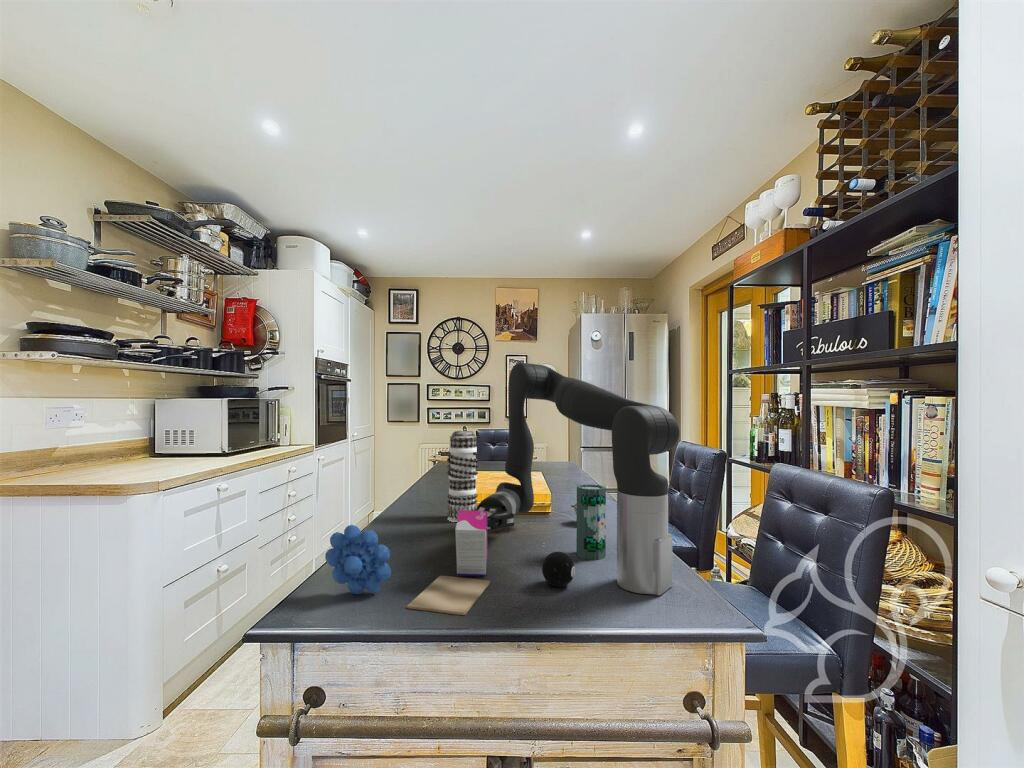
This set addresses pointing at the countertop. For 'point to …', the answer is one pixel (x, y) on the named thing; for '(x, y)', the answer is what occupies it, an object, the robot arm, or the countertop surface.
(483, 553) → the supplement box
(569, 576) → the billiard ball
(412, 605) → the brown paper envelope
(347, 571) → the blue knobbed wheel
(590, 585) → the countertop surface
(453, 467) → the grey white cylinder
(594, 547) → the can
